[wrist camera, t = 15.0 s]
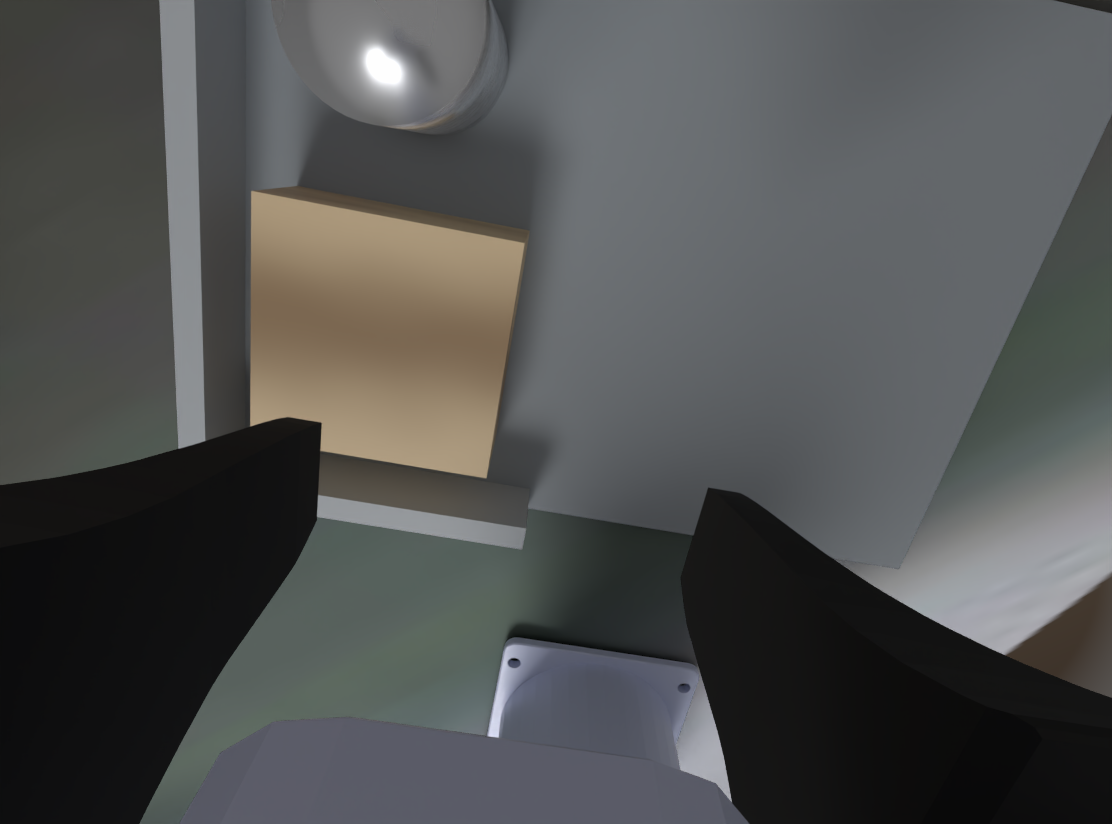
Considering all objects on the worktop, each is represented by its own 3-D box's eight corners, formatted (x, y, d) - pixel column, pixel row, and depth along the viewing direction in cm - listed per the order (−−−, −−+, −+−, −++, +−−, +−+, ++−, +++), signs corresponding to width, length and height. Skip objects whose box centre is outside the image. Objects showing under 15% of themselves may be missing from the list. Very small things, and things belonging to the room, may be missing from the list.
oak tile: (495, 437, 22) (486, 478, 19) (290, 402, 21) (250, 438, 19) (529, 230, 19) (524, 243, 16) (297, 185, 19) (251, 190, 16)
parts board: (893, 562, 24) (937, 615, 21) (227, 453, 22) (180, 495, 20) (1141, 26, 17) (1252, 1, 15) (220, -184, 16) (148, -256, 13)
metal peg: (498, 146, 18) (471, 142, 13) (359, 121, 18) (270, 106, 13) (517, -15, 17) (497, -99, 11) (367, -43, 17) (269, -145, 11)
